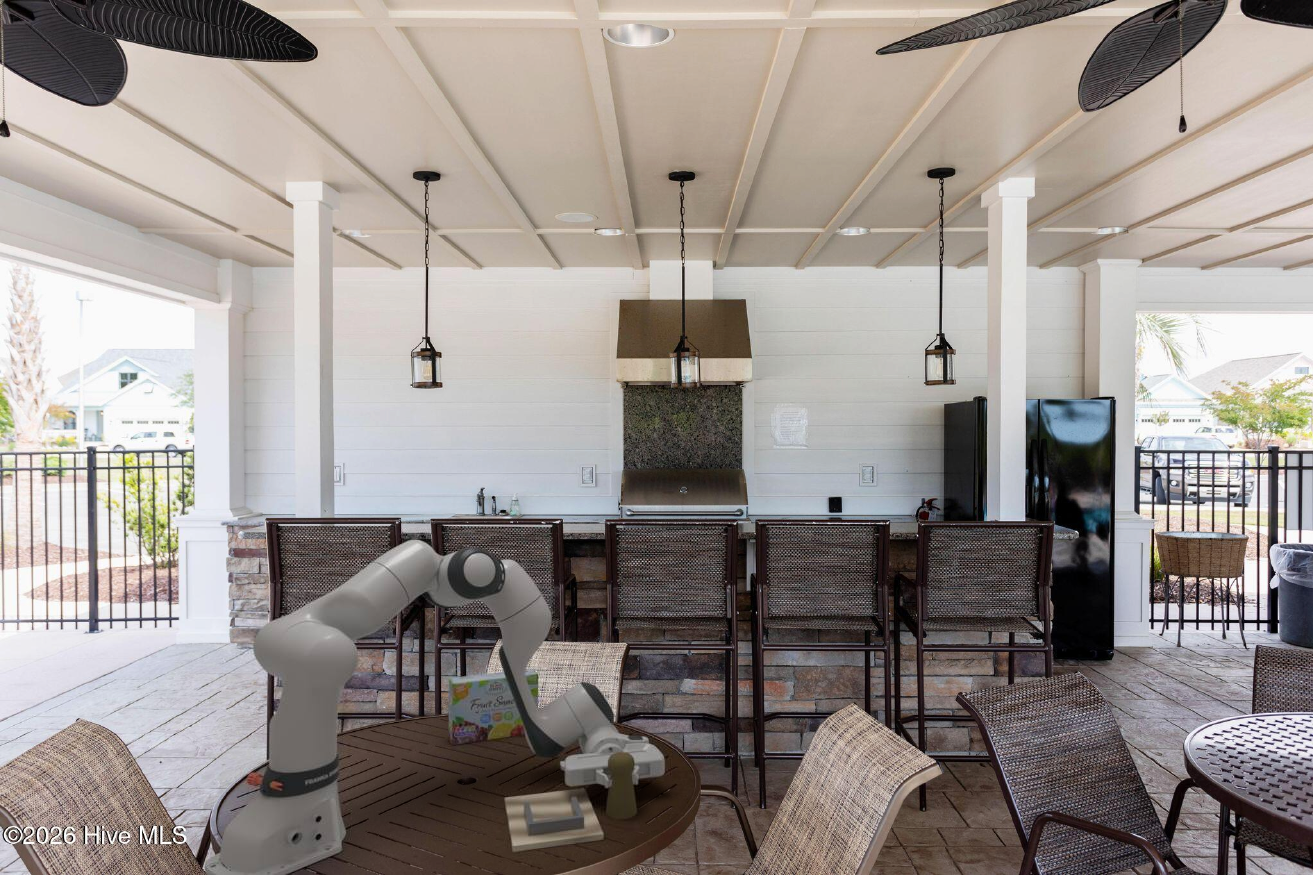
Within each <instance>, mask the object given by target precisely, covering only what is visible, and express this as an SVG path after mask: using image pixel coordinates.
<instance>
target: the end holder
mask: <svg viewBox="0 0 1313 875" xmlns="http://www.w3.org/2000/svg"><path fill="white" fill-rule="evenodd" d="M571 809H572V812H573V815H574V816H570V817H562V818H554V819H546V820H539V821H533V817H532V812H531V808H530V804H529V802H527V803H524V817H525V821H526V826H527V831H528V836H531V835H538V834H546V833H553V832H561V831H568V830H576V829H583V828H584V816H583V813H582V811H581V808H580V805H579V803H578V800H577V797H571Z"/></svg>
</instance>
